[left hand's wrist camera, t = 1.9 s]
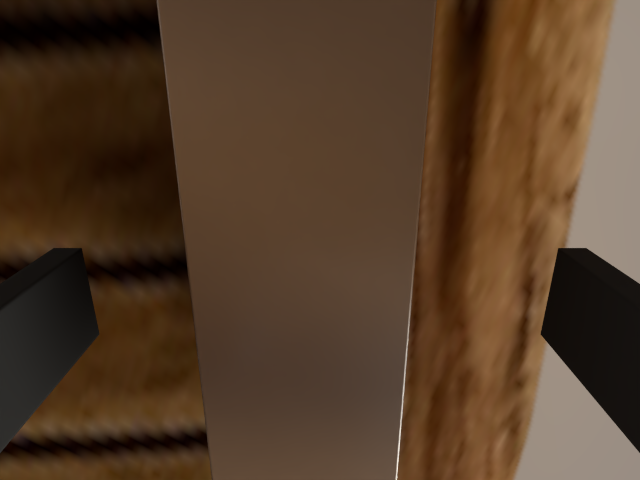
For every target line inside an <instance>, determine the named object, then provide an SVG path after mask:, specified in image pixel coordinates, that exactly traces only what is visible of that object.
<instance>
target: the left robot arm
mask: <svg viewBox="0 0 640 480" xmlns="http://www.w3.org/2000/svg"><path fill="white" fill-rule="evenodd" d="M98 335H99V330H98V325H97V320H96V315H95V311H94V306H93V301H92V296H91V291H90V286H89V282H88V277H87V272H86V267H85V262H84V257H83V253H82V248H53V249H52V250H50V251H49V252H47V253H46V254H44V255H43V256H41V257H40V258H38V259H37V260H35V261H34V262H32V263H31V264H29V265H28V266H26V267H25V268H23V269H22V270H20V271H19V272H17V273H16V274H14V275H13V276H11V277H10V278H8V279H7V280H5V281H4V282H2V283H1V284H0V452H1V451H2V450H3V449H4V448H5V446H6V445H7V444H8V443H9V442H10V440H11V439H12V438H13V437H14V436H15V434H16V433H17V432H18V431H19V430H20V429H21V427H22V426H23V425H24V424H25V423H26V421H27V420H28V419H29V418H30V417H31V415H32V414H33V413H34V412H35V411H36V409H37V408H38V407H39V406H40V405H41V403H42V402H43V401H44V400H45V399H46V397H47V396H48V395H49V394H50V393H51V391H52V390H53V389H54V388H55V387H56V385H57V384H58V383H59V382H60V381H61V379H62V378H63V377H64V376H65V375H66V373H67V372H68V371H69V370H70V369H71V368H72V366H73V365H74V364H75V363H76V362H77V360H78V359H79V358H80V357H81V356H82V354H83V353H84V352H85V351H86V350H87V348H88V347H89V346H90V345H91V344H92V342H93V341H94V340H95V339H96V338H97V336H98ZM541 335H542V336H543V338H544V339H545V340H546V341H547V342H548V344H549V345H550V346H551V347H552V348H553V350H554V351H555V352H556V353H557V354H558V356H559V357H560V358H561V359H562V360H563V362H564V363H565V364H566V365H567V366H568V367H569V369H570V370H571V371H572V372H573V373H574V375H575V376H576V377H577V378H578V379H579V381H580V382H581V383H582V384H583V385H584V387H585V388H586V389H587V390H588V391H589V393H590V394H591V395H592V396H593V397H594V399H595V400H596V401H597V402H598V403H599V405H600V406H601V407H602V408H603V409H604V411H605V412H606V413H607V414H608V415H609V416H610V418H611V419H612V420H613V421H614V423H615V424H616V425H617V426H618V427H619V428H620V430H621V431H622V432H623V433H624V434H625V436H626V437H627V438H628V439H629V440H630V442H631V443H632V444H633V445H634V446H635V448H636V449H637V450H638V451H639V452H640V284H639V283H637V282H636V281H634V280H633V279H632V278H630V277H629V276H627V275H626V274H624V273H623V272H621V271H620V270H618V269H617V268H615V267H614V266H612V265H611V264H609V263H608V262H606V261H605V260H603V259H602V258H600V257H599V256H597V255H596V254H594V253H593V252H591V251H590V250H588V249H587V248H558V253H557V257H556V262H555V267H554V272H553V277H552V282H551V286H550V291H549V296H548V301H547V306H546V311H545V315H544V320H543V325H542V330H541Z"/></svg>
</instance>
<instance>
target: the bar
mask: <svg viewBox="0 0 640 480" xmlns="http://www.w3.org/2000/svg"><path fill="white" fill-rule="evenodd" d="M436 1H437V0H157V9H158V18H159V26H160V35H161V44H162V52H163V61H164V69H165V78H166V87H167V95H168V104H169V112H170V121H171V130H172V138H173V147H174V156H175V164H176V173H177V181H178V190H179V199H180V207H181V216H182V225H183V233H184V242H185V250H186V259H187V268H188V276H189V285H190V294H191V302H192V311H193V319H194V328H195V337H196V345H197V354H198V363H199V371H200V380H201V388H202V397H203V406H204V414H205V423H206V431H207V440H208V449H209V457H210V466H211V475H212V480H397V473H398V461H399V449H400V437H401V425H402V413H403V400H404V388H405V376H406V364H407V352H408V340H409V328H410V316H411V304H412V292H413V279H414V267H415V255H416V243H417V231H418V219H419V207H420V195H421V183H422V171H423V159H424V146H425V134H426V122H427V110H428V98H429V86H430V74H431V62H432V50H433V38H434V25H435V13H436Z"/></svg>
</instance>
